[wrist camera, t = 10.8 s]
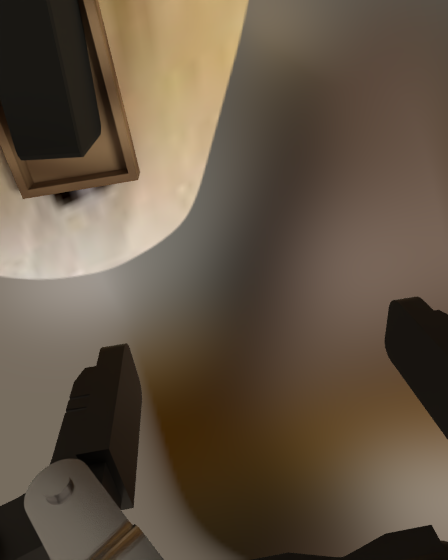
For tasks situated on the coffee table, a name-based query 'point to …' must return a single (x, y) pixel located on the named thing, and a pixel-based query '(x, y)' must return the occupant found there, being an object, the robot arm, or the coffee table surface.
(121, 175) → the trough
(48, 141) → the electronic device
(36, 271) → the coffee table surface
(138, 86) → the coffee table surface
